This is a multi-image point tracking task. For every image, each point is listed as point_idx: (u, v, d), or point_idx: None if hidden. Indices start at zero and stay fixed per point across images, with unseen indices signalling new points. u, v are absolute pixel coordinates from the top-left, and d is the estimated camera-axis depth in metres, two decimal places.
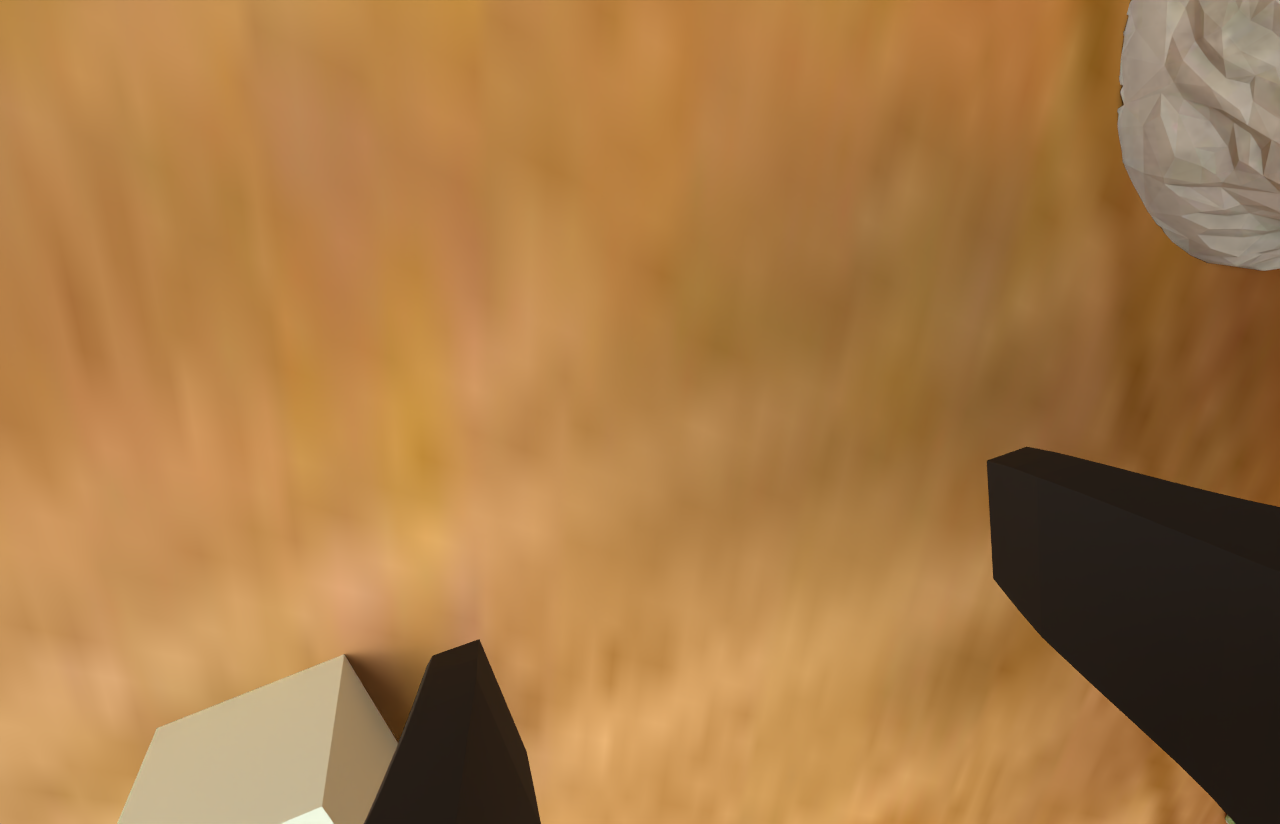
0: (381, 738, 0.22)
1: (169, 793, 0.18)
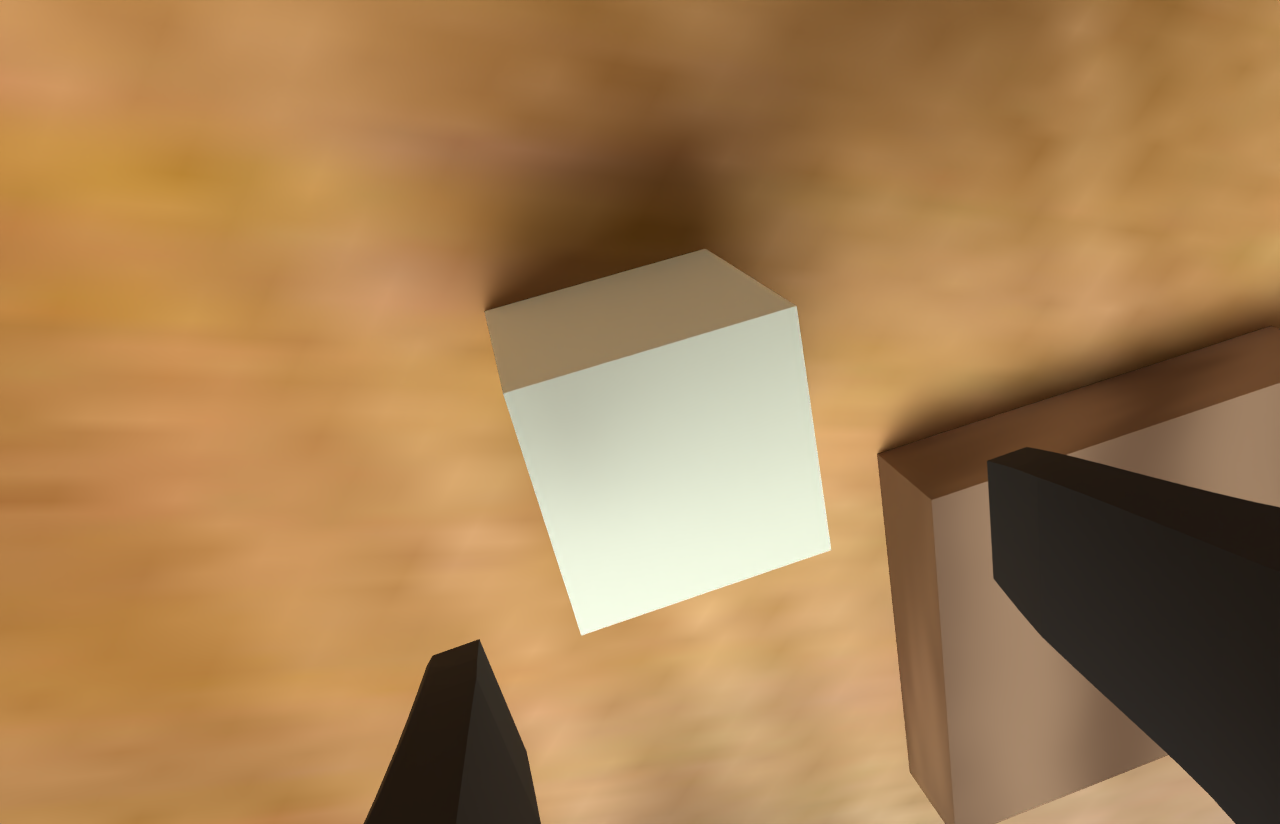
0: (601, 288, 0.17)
1: None
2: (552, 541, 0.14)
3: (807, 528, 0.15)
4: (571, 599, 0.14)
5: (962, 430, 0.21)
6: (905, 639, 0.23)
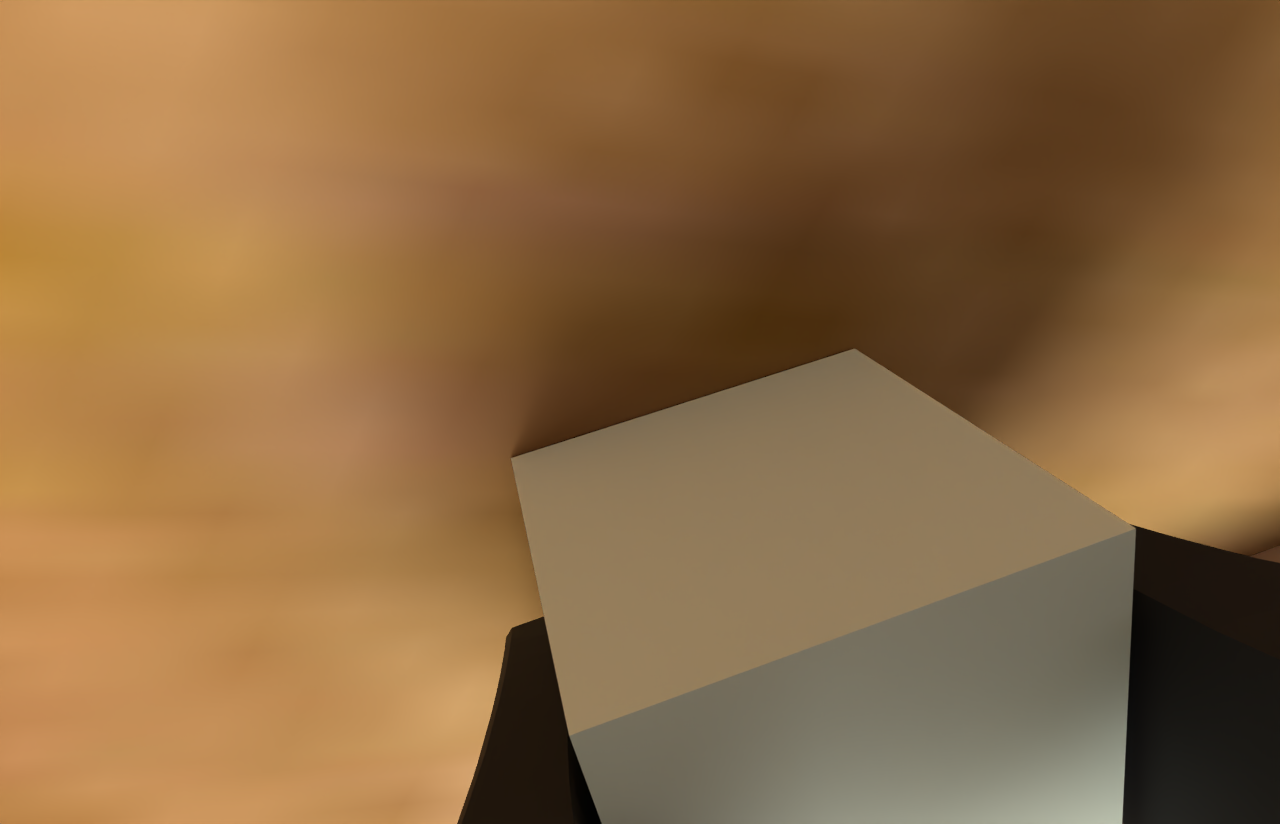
0: (702, 426, 0.10)
1: None
2: None
3: None
4: None
5: None
6: None
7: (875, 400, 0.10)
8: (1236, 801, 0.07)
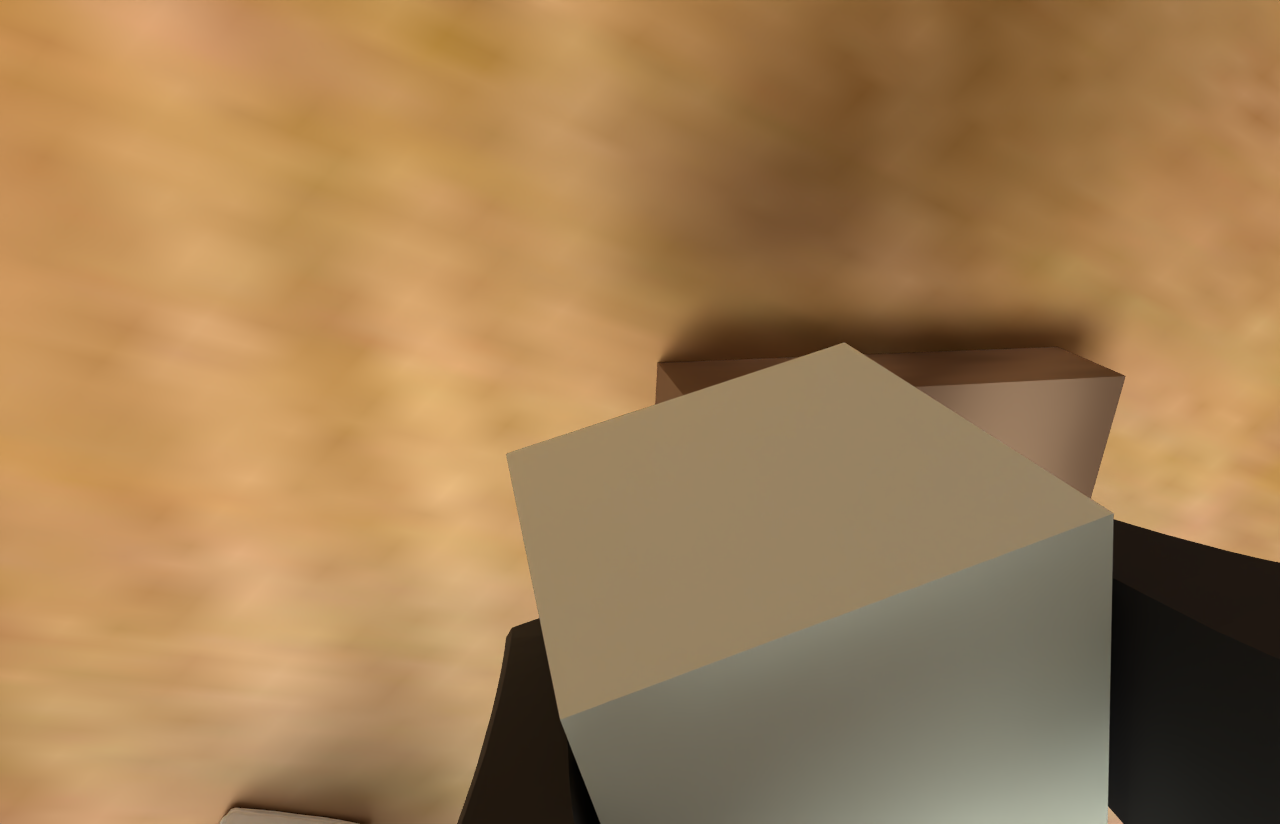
0: (694, 420, 0.10)
1: None
2: None
3: None
4: None
5: (746, 361, 0.21)
6: None
7: (863, 392, 0.10)
8: (1236, 801, 0.07)
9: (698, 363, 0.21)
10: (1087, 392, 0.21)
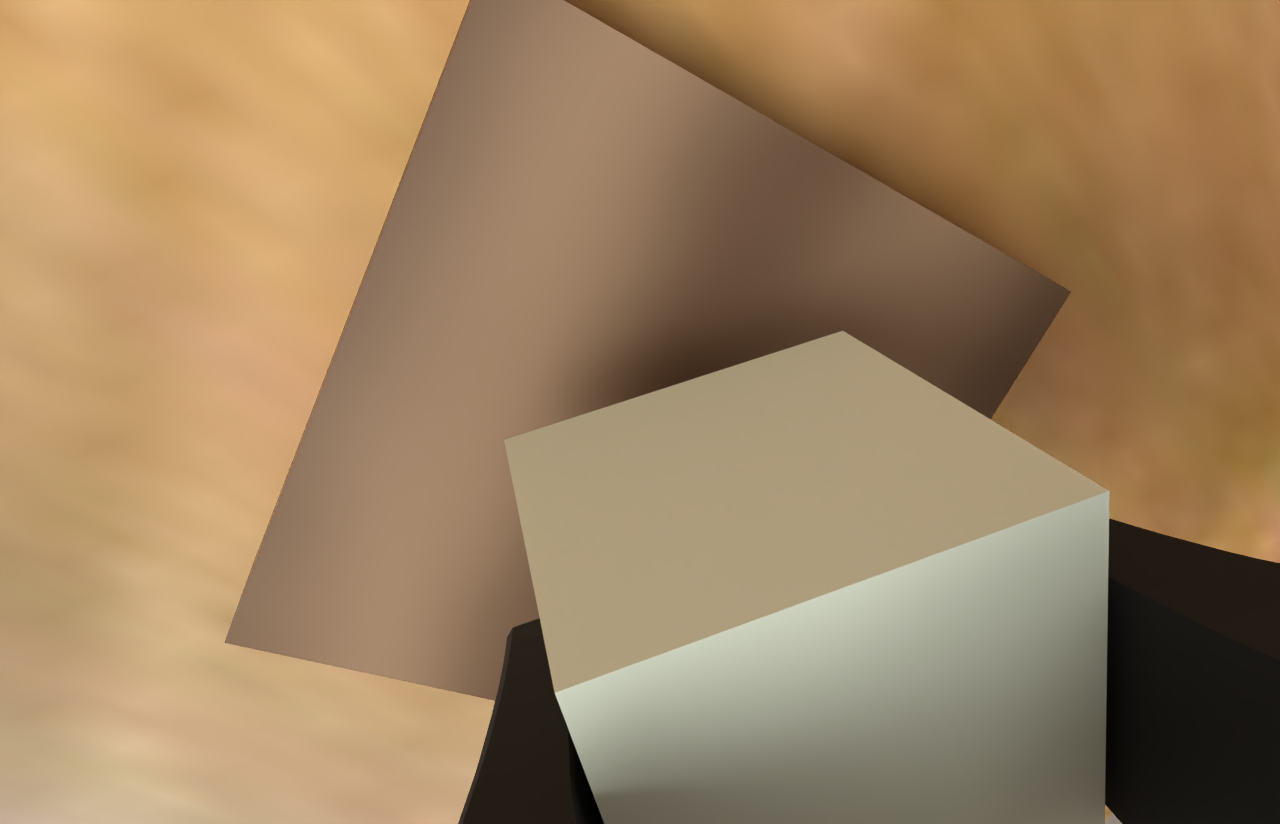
0: (691, 406, 0.10)
1: None
2: None
3: None
4: None
5: None
6: (354, 301, 0.14)
7: (861, 378, 0.10)
8: (1235, 801, 0.07)
9: None
10: (1021, 289, 0.15)
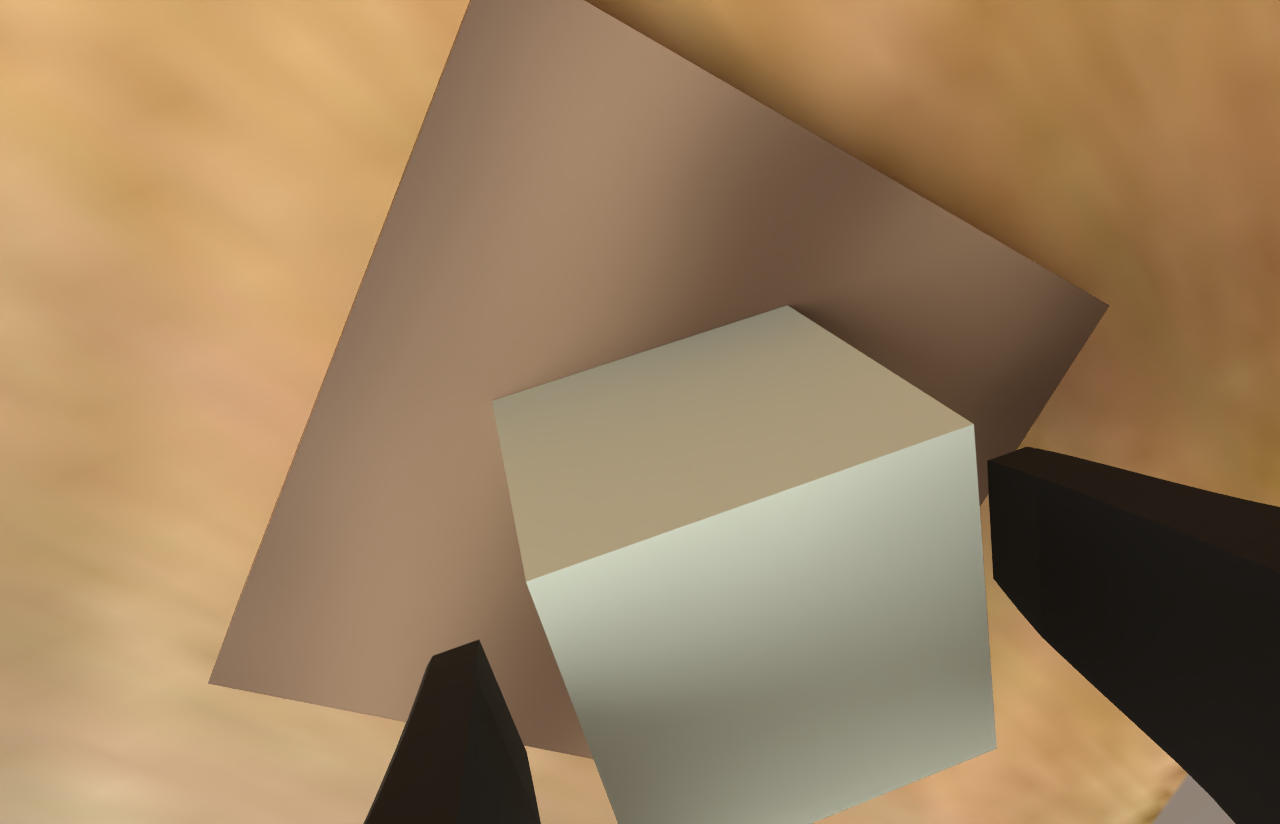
0: (653, 370, 0.12)
1: None
2: (602, 776, 0.09)
3: (967, 724, 0.10)
4: None
5: None
6: None
7: (796, 344, 0.12)
8: None
9: None
10: (1057, 303, 0.14)
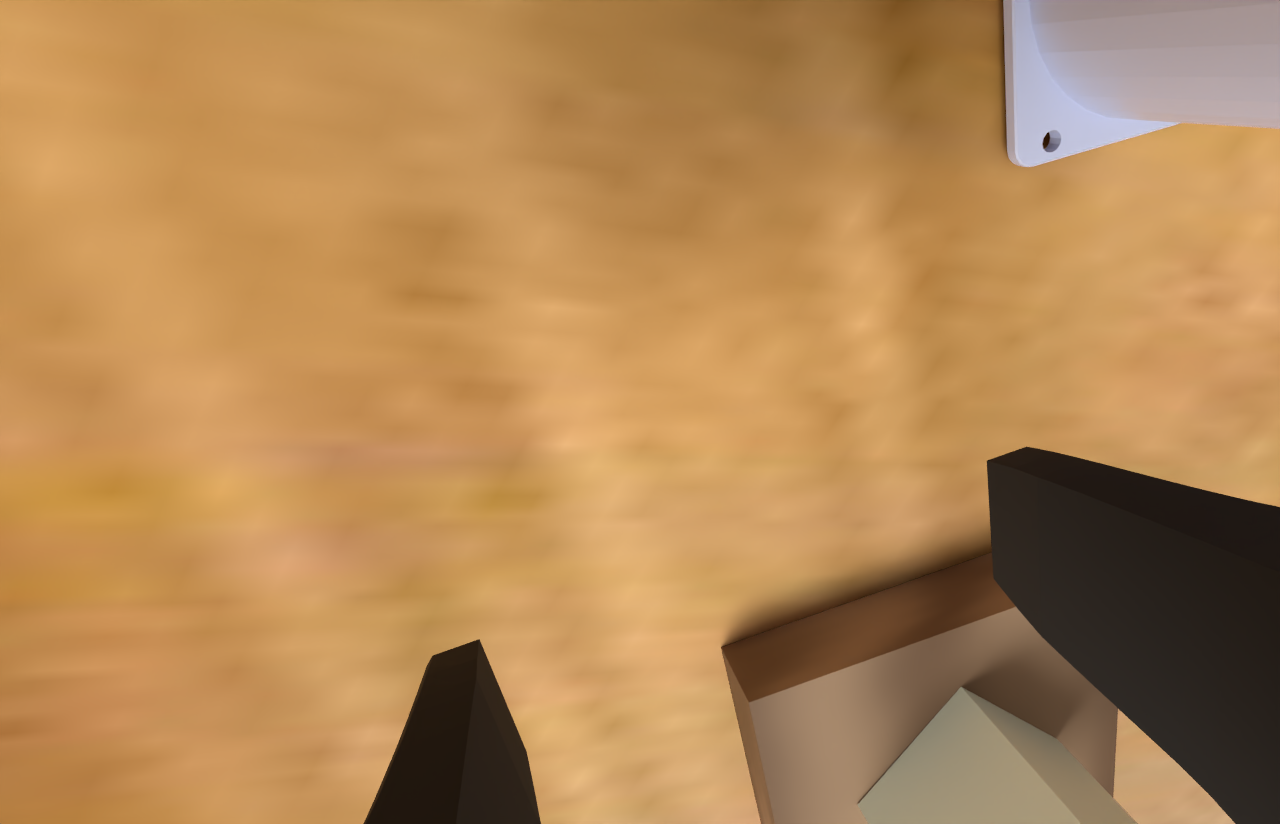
0: (922, 768, 0.24)
1: None
2: None
3: None
4: None
5: (792, 624, 0.25)
6: (755, 789, 0.27)
7: (981, 737, 0.23)
8: None
9: (753, 637, 0.25)
10: None
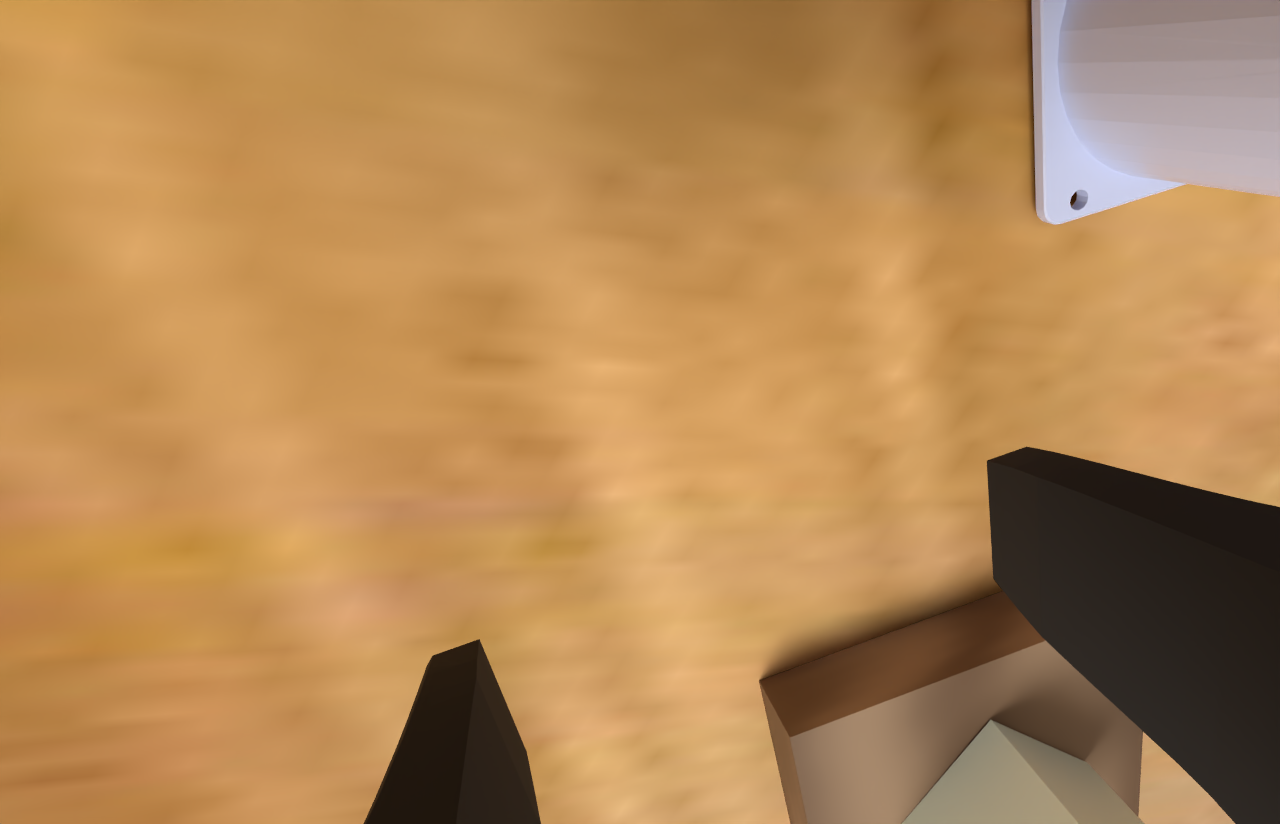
0: (955, 800, 0.25)
1: None
2: None
3: None
4: None
5: (828, 658, 0.26)
6: (792, 816, 0.27)
7: (1011, 771, 0.24)
8: None
9: (790, 671, 0.26)
10: None
